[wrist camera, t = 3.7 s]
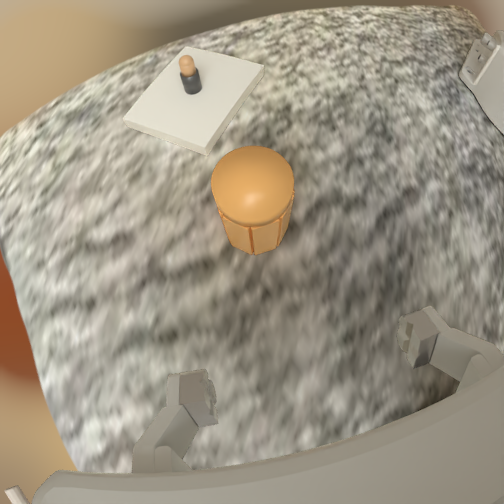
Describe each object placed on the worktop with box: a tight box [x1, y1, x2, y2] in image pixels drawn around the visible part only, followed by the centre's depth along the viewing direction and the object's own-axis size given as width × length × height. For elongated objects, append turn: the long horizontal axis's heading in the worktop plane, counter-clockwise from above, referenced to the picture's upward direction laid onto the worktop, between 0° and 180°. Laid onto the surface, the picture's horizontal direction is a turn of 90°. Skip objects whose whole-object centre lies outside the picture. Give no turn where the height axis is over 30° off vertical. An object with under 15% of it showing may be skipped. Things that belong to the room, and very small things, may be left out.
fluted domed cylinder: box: [211, 146, 295, 255], centre depth 23 cm, size 5×5×8 cm
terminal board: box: [123, 46, 264, 156], centre depth 28 cm, size 12×10×6 cm
